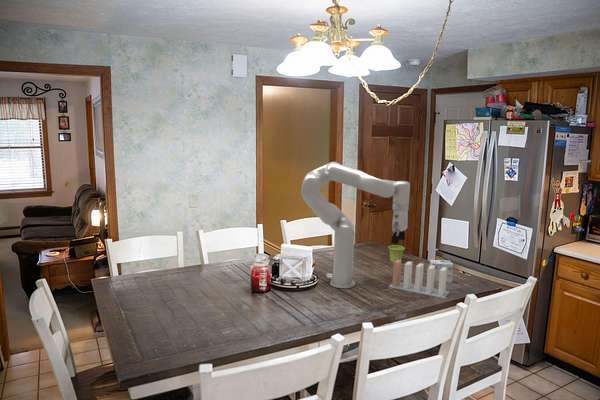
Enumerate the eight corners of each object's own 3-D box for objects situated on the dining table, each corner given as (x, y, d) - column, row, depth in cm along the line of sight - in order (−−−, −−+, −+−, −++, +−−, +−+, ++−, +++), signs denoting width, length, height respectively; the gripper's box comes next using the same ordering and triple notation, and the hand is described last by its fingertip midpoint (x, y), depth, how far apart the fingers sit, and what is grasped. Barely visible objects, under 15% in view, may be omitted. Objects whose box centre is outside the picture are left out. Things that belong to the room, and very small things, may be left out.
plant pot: (406, 261, 266) (406, 246, 265) (400, 264, 258) (401, 250, 257) (390, 258, 271) (391, 244, 270) (385, 262, 263) (385, 247, 262)
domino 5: (437, 295, 208) (439, 270, 207) (441, 291, 214) (442, 267, 212) (442, 296, 207) (444, 271, 206) (445, 292, 213) (447, 267, 211)
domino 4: (426, 292, 211) (427, 268, 209) (429, 289, 216) (431, 265, 214) (430, 293, 210) (432, 268, 208) (433, 289, 215) (435, 265, 213)
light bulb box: (449, 280, 233) (450, 260, 232) (452, 284, 227) (453, 264, 225) (428, 279, 234) (429, 259, 233) (430, 283, 228) (432, 262, 226)
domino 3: (414, 290, 214) (416, 266, 212) (418, 286, 219) (419, 263, 217) (418, 291, 213) (420, 266, 211) (422, 287, 218) (423, 263, 216)
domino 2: (403, 288, 217) (404, 264, 215) (407, 284, 222) (408, 261, 220) (407, 289, 216) (408, 264, 214) (411, 285, 221) (412, 261, 219)
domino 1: (392, 286, 219) (393, 262, 218) (396, 282, 225) (397, 259, 223) (396, 286, 218) (397, 263, 217) (400, 283, 224) (401, 260, 222)
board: (387, 288, 219) (387, 286, 219) (394, 282, 227) (394, 281, 227) (444, 300, 205) (444, 298, 205) (449, 293, 214) (449, 291, 214)
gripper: (402, 210, 206) (400, 246, 209) (413, 205, 221) (411, 239, 224) (386, 208, 210) (384, 244, 213) (398, 203, 225) (396, 237, 227)
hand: (398, 241), depth 218 cm, fingers open, 9 cm apart
